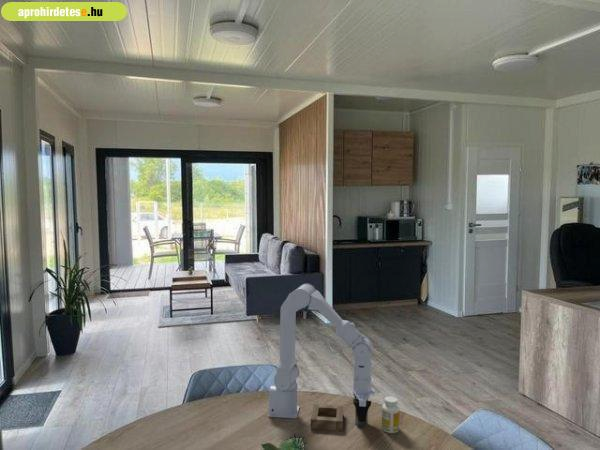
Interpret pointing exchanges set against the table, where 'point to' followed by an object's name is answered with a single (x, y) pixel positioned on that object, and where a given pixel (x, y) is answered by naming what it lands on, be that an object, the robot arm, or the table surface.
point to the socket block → (327, 417)
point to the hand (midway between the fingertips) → (361, 417)
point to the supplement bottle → (390, 415)
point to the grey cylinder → (361, 424)
